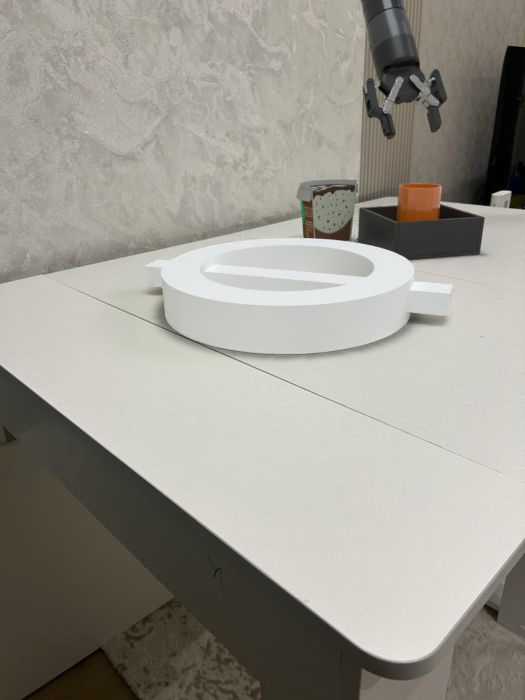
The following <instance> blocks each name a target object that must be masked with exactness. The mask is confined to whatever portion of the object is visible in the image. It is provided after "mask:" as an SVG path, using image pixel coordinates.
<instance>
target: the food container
mask: <svg viewBox="0 0 525 700" xmlns="http://www.w3.org/2000/svg"><path fill="white" fill-rule="evenodd" d="M358 193H359V183H358V180H357V179H345V178H344V179H343V178H339V179H338V178H336V179H335V178H334V179H333V178H329V179H315V180H307V181H302V182H300V183H299V187H298V188H297V192H296V196H295V197H296V199H297V200H300V210H301V211H300V212H301V223H302V224H301V227H302V238H313V239H329V240H339V241H348V242H352V234H353V225H354V215H355V207H356V197H357V196H356V195H357V194H358Z"/></svg>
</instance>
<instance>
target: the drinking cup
mask: <svg viewBox="0 0 525 700" xmlns="http://www.w3.org/2000/svg"><path fill="white" fill-rule="evenodd" d="M397 188H398V190H397V202H396V204H397V215H396V222H407V221H422V220H437V219H439V211H440V204H441V200H442V191H443V186H442V185H441V184H438V183H429V182H428V183H427V182H411V183H409V182H408V183H402V184H398V187H397Z"/></svg>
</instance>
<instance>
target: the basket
mask: <svg viewBox="0 0 525 700" xmlns="http://www.w3.org/2000/svg"><path fill="white" fill-rule="evenodd" d="M358 212H359V213H358V229H357V231H358V232H357V242H358V243H361V244H366V245H371V246H375V247H379V248H383V249H386V250H389V251H392V252H394V253H397V254H399V255H401V256H403V257H404V258H406V259H407V260H409V261H412V260H425V259H436V258H438V259H439V258H449V257H462V256H464V257H465V256H475V255H476V256H477V255H480V254H481V248H482V242H483V233H484V226H485V219H486V217H485V216H482V215H479V214H475V213H472V212H470V211H466V210H463V209H459V208H456V207H452V206H449V205H445V204H443V203H440V211H439V219H437V220H422V221H407V222H396V215H397V205H382V206H381V205H380V206H365V207H359V210H358Z"/></svg>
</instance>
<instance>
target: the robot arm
mask: <svg viewBox="0 0 525 700" xmlns="http://www.w3.org/2000/svg"><path fill="white" fill-rule="evenodd" d="M360 5H361V9H362V16H363V19H364V23H365V27H366V31H367V40H368V45H369V52H370V54H371V58H372V62H373V66H374V70H375V74H376V78H377V80H374V78H373V77H368V78H367V80H366V81H365V83H364V84H363V86H362V94H363V99H364V104H365V109H366V115H367V117H368V118H369V119H372V118H376V119H378V120H379V123H380V126H381V132H382V135H383V136H384V137H385V138H386V140H393V139H394V137H395V136H396V134H397V133H396V128H395V124H394V120H393V116H392V113H390V111H391V108H392V106H393V104H395V106H396V105H401V104H403V103H405V104H410V103H411V104H412V102H413V103H414V104H415V105H417V106H418V107H422V108H423V109H424V110H425V111H426V112H427V113H426V117H427V121H428V125H429V129H430V133H437V132H438V131H439V130H440V128H441V126H442V125H443V124H442V123H443V121H442V116H441V113H440V108H441V107H442V106H443V105H444V103H446V102H447V100H448V95H447V92H446V89H445V85H444V82H443V79H442V76H441V71H440V70H439V69H438V68H434V69H433V70H432V71H431V72H427V73H424V72H423V70H422V69H421V61H420V55H419V52H418V48H417V44H416V39H415V36H414V32H413V28H412V24H411V21H410V19H409V17H408V14H407V9H406V6H405V3H404V0H360ZM424 83H425V84H424ZM378 90H379V92H381V93H382V95H384V96H385V97H384V99H383V102H382V105H381V106H379V100H378V95H377V92H378ZM420 94H421V96H420Z"/></svg>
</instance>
